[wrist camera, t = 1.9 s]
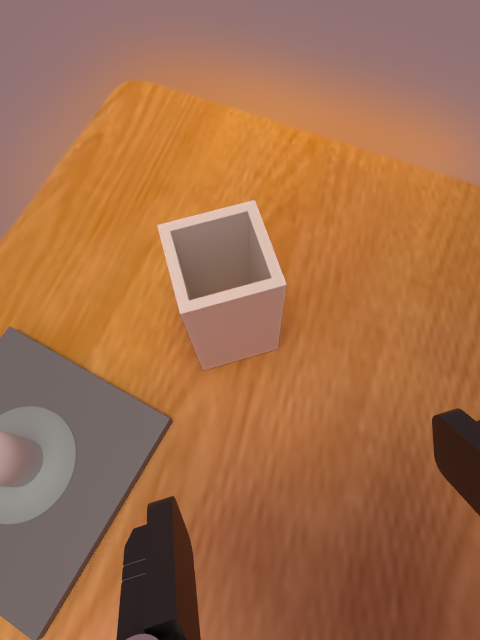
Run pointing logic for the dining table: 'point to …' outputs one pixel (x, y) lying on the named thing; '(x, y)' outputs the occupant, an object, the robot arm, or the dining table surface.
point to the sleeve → (225, 283)
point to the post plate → (60, 473)
